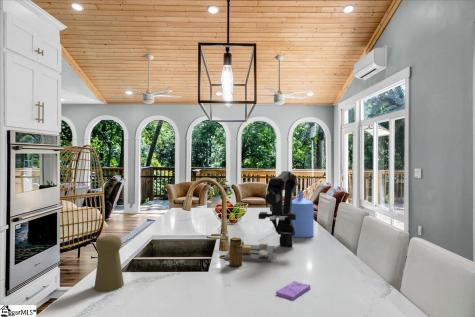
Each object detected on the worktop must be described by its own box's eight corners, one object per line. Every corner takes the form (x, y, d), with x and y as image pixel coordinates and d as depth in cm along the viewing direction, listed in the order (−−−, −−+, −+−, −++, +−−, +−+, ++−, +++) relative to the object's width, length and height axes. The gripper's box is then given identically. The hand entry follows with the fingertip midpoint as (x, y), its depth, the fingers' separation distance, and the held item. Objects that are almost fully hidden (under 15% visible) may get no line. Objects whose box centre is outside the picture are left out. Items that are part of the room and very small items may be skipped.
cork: (105, 294, 112) (105, 241, 112) (88, 288, 117) (87, 237, 117) (129, 284, 121) (129, 235, 121) (112, 279, 126) (112, 232, 126)
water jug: (319, 235, 195) (318, 191, 196) (301, 239, 187) (300, 192, 187) (300, 231, 208) (300, 189, 209) (283, 234, 200) (283, 190, 200)
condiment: (240, 261, 147) (240, 236, 147) (247, 267, 139) (246, 240, 139) (225, 263, 144) (225, 237, 144) (231, 269, 136) (231, 242, 136)
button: (268, 255, 150) (268, 250, 150) (267, 257, 146) (267, 252, 146) (259, 254, 150) (259, 249, 151) (258, 257, 147) (258, 252, 147)
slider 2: (267, 248, 161) (267, 242, 161) (267, 250, 158) (266, 244, 158) (259, 248, 162) (259, 242, 162) (259, 249, 159) (259, 244, 159)
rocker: (243, 241, 171) (243, 239, 170) (240, 248, 163) (240, 246, 163) (236, 240, 171) (236, 238, 171) (233, 247, 164) (233, 245, 163)
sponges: (310, 290, 115) (310, 285, 115) (292, 301, 106) (292, 296, 106) (294, 285, 120) (294, 280, 120) (275, 296, 110) (275, 290, 110)
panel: (274, 248, 167) (274, 241, 168) (270, 262, 145) (270, 253, 145) (234, 246, 172) (234, 239, 172) (224, 259, 149) (224, 251, 149)
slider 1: (251, 251, 156) (251, 245, 156) (250, 253, 153) (250, 247, 153) (243, 251, 157) (243, 245, 157) (242, 253, 154) (242, 247, 154)
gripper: (296, 200, 165) (296, 229, 165) (261, 199, 169) (261, 228, 169) (295, 203, 154) (295, 234, 154) (258, 202, 158) (258, 233, 158)
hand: (277, 232), depth 159 cm, fingers closed
